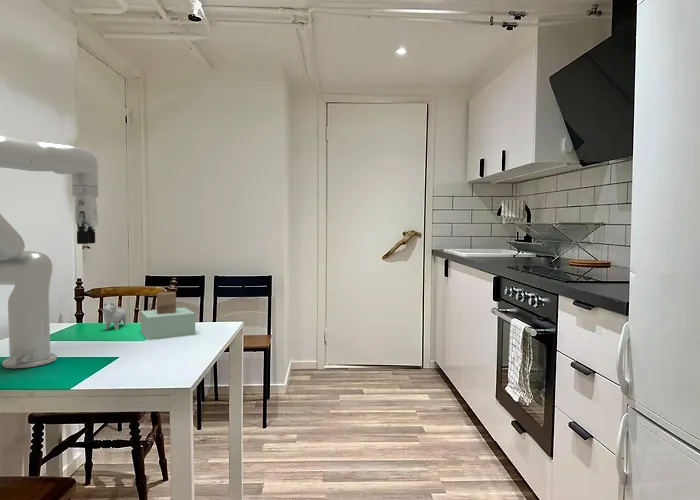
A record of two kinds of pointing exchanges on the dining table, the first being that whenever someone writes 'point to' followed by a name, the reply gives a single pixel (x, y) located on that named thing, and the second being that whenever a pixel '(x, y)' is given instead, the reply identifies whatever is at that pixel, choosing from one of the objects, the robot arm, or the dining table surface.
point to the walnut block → (166, 302)
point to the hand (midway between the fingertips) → (86, 243)
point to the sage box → (167, 324)
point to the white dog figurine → (113, 315)
